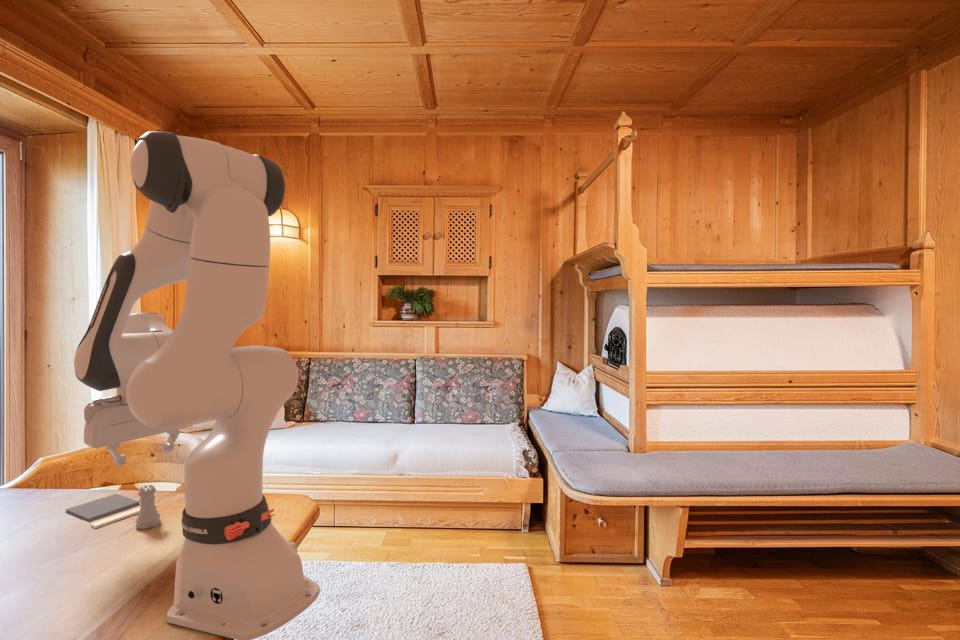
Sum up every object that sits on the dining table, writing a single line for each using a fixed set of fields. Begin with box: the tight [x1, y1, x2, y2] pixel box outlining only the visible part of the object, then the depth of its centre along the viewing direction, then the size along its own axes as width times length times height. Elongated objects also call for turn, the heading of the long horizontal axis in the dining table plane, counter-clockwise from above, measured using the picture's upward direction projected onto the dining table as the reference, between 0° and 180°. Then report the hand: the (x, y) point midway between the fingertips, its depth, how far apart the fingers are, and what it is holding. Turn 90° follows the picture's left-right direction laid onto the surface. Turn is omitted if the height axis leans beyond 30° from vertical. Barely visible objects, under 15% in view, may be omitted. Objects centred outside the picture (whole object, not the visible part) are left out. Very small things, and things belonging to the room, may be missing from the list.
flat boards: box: [65, 493, 157, 529], centre depth 112 cm, size 15×12×1 cm
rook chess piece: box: [135, 484, 162, 530], centre depth 104 cm, size 4×4×8 cm
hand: (144, 457), depth 104 cm, fingers open, 8 cm apart
